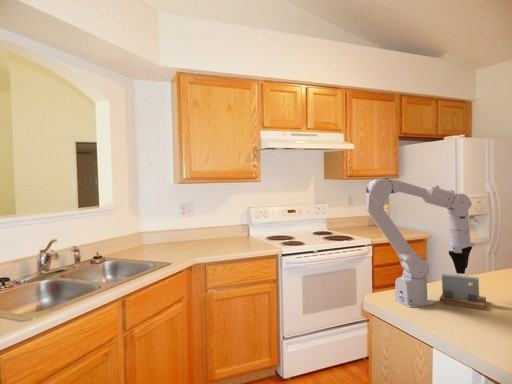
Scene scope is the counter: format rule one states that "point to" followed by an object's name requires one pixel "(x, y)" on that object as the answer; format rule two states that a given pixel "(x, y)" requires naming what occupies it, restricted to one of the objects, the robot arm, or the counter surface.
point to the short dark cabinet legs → (470, 297)
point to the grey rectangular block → (460, 285)
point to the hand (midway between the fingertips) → (462, 270)
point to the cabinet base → (464, 302)
